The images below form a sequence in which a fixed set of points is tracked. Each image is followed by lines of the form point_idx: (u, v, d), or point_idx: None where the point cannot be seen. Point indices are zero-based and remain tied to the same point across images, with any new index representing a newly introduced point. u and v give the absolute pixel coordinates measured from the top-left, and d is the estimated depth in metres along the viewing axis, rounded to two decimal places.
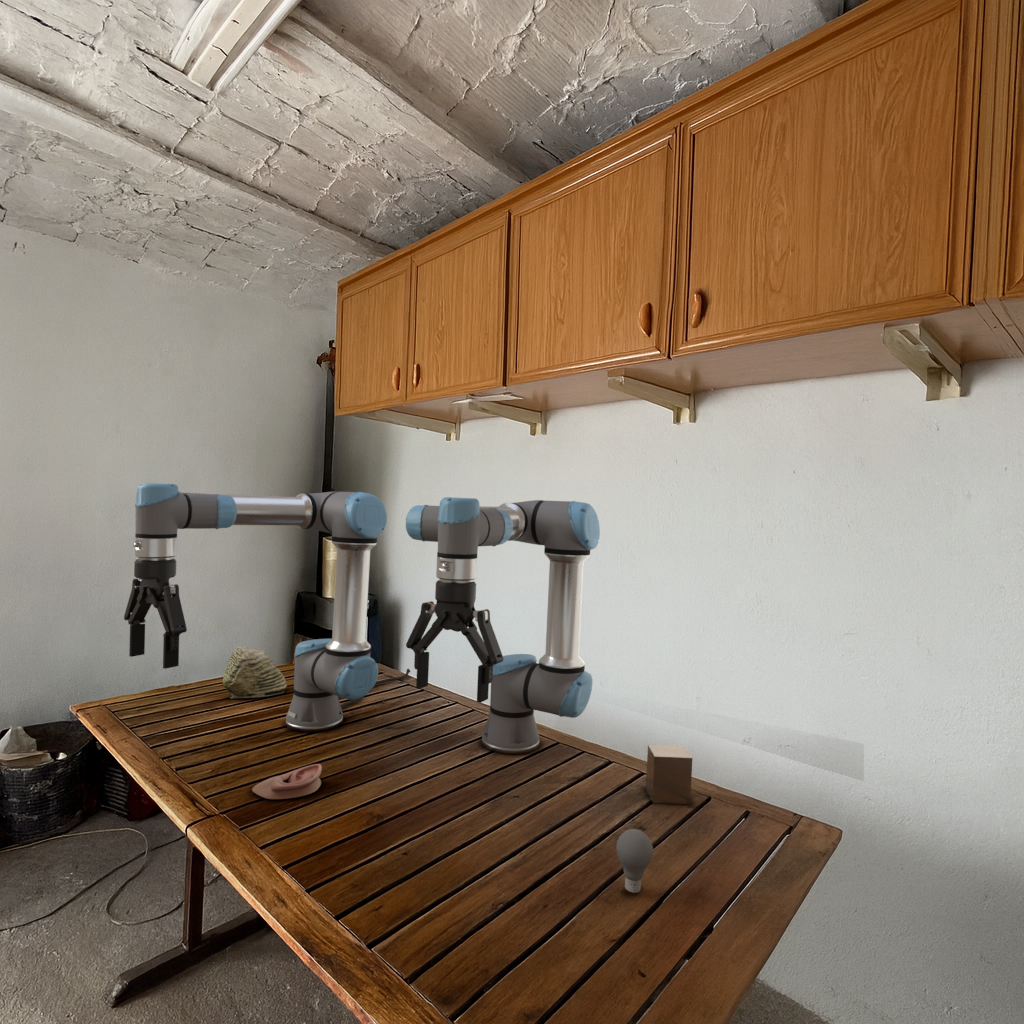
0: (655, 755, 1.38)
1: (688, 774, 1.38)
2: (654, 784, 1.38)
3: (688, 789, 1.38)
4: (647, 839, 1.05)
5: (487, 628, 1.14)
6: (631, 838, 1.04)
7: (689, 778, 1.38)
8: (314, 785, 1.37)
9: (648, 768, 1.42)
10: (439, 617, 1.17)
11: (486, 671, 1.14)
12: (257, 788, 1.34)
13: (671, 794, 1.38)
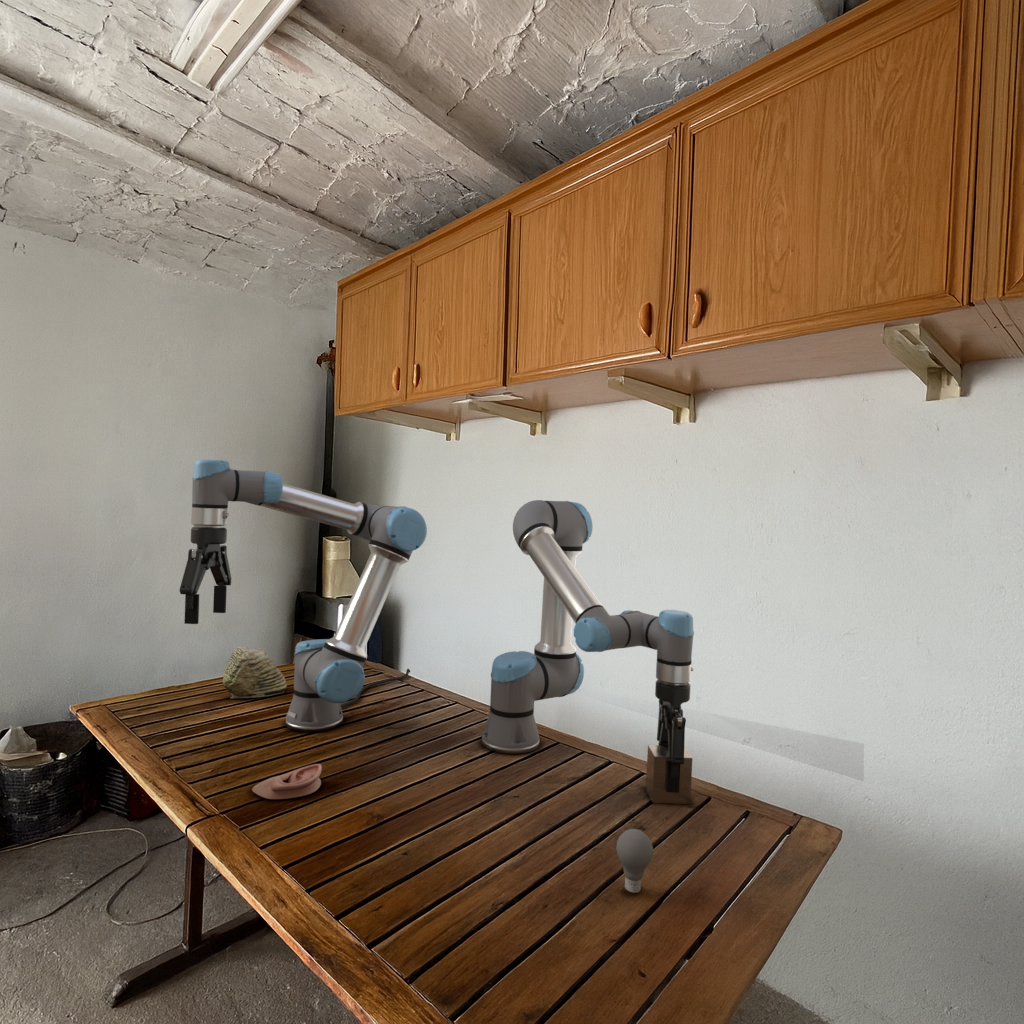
0: (655, 755, 1.38)
1: (688, 774, 1.38)
2: (654, 784, 1.38)
3: (688, 789, 1.38)
4: (647, 839, 1.05)
5: None
6: (631, 838, 1.04)
7: (689, 778, 1.38)
8: (314, 785, 1.37)
9: (648, 768, 1.42)
10: None
11: None
12: (257, 788, 1.34)
13: (671, 794, 1.38)
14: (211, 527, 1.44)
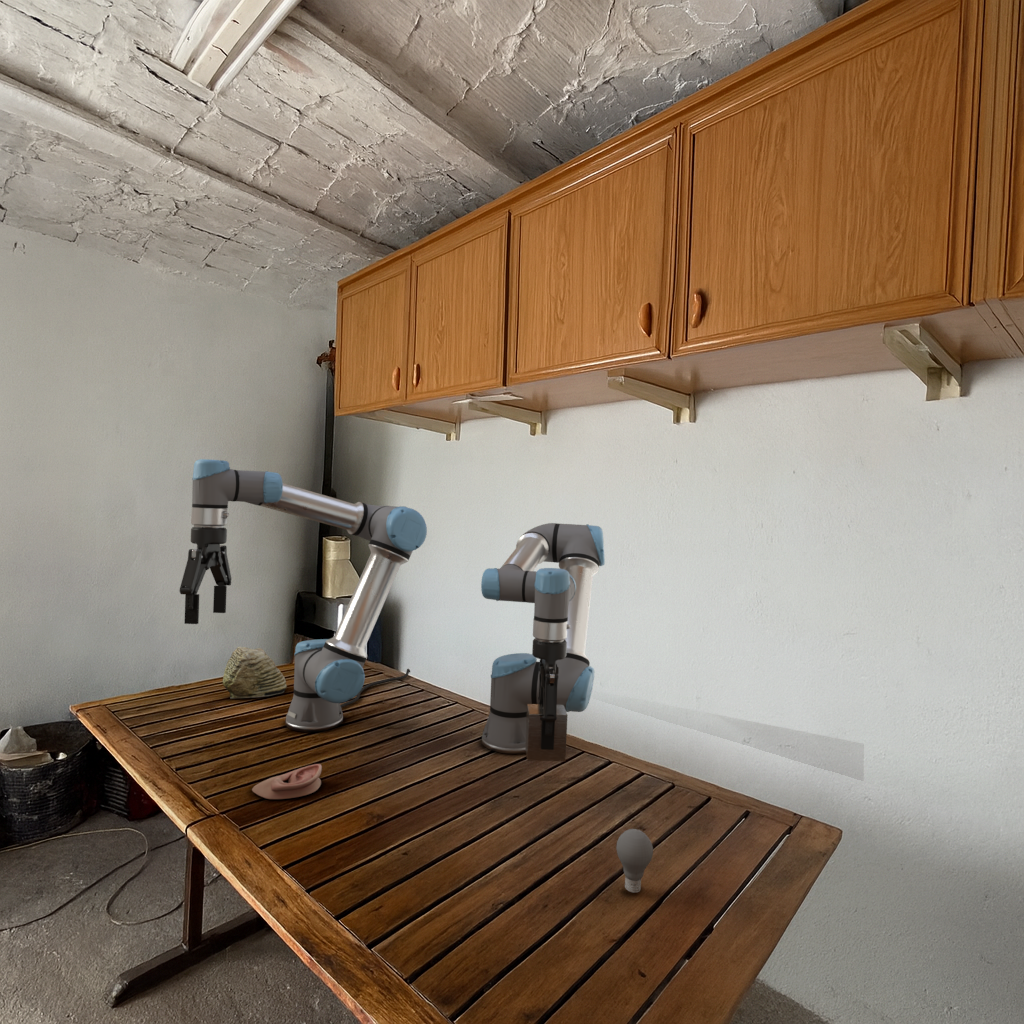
0: (530, 713, 1.37)
1: (563, 731, 1.37)
2: (529, 742, 1.37)
3: (563, 746, 1.37)
4: (647, 839, 1.05)
5: None
6: (631, 838, 1.04)
7: (564, 735, 1.37)
8: (314, 785, 1.37)
9: (526, 727, 1.42)
10: (557, 674, 1.38)
11: None
12: (257, 788, 1.34)
13: (546, 751, 1.37)
14: (211, 527, 1.44)
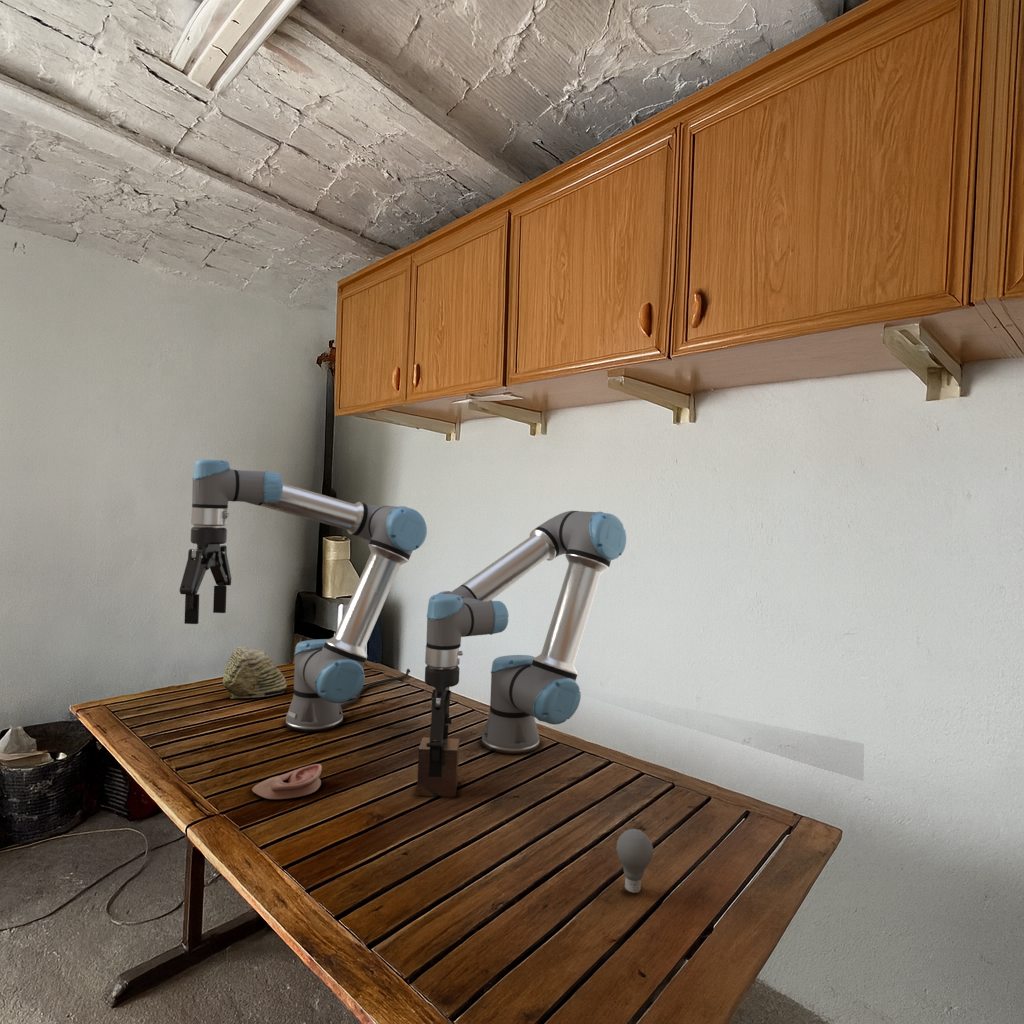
0: (420, 747, 1.37)
1: (453, 766, 1.36)
2: (418, 776, 1.36)
3: (453, 782, 1.36)
4: (647, 839, 1.05)
5: None
6: (631, 838, 1.04)
7: (454, 770, 1.36)
8: (314, 785, 1.37)
9: None
10: (448, 700, 1.37)
11: None
12: (257, 788, 1.34)
13: (435, 786, 1.36)
14: (211, 527, 1.44)
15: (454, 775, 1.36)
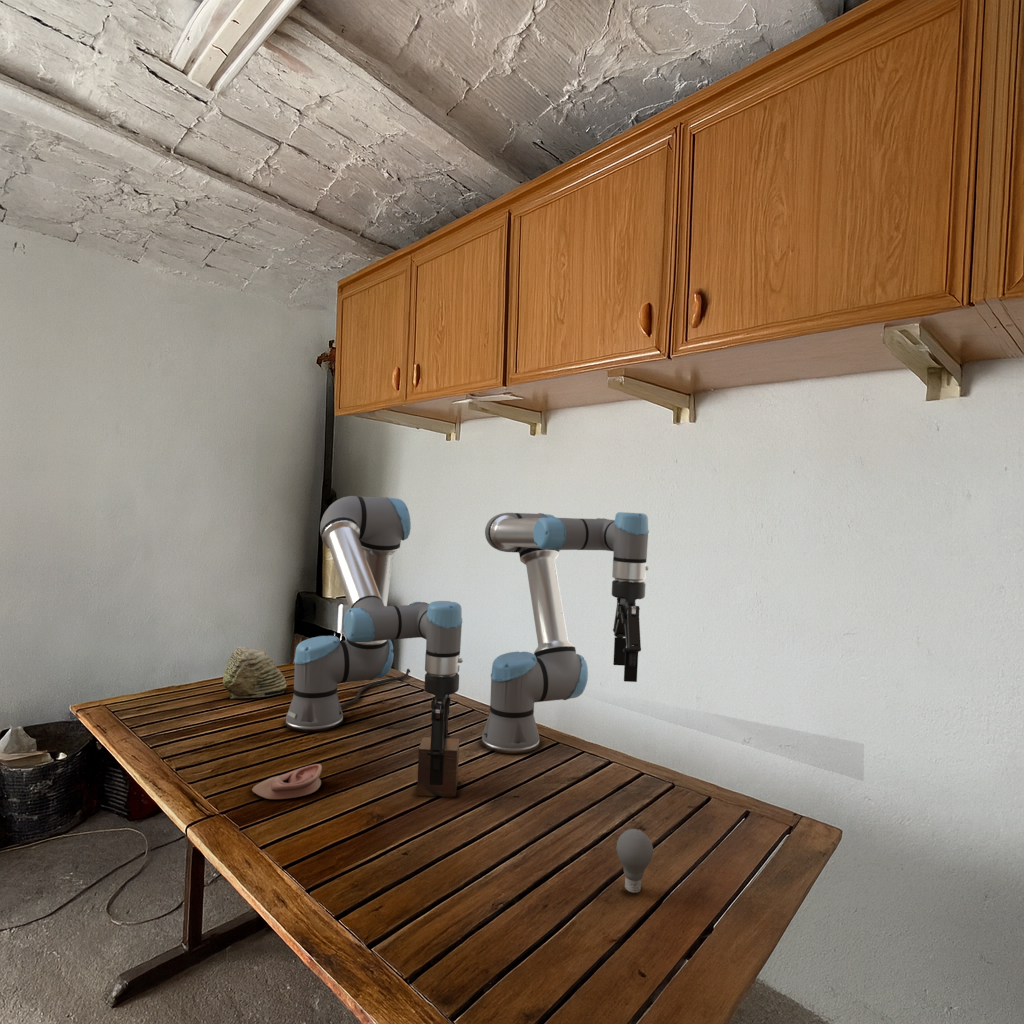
0: (420, 747, 1.37)
1: (453, 766, 1.36)
2: (418, 777, 1.36)
3: (453, 782, 1.36)
4: (647, 839, 1.05)
5: None
6: (631, 838, 1.04)
7: (454, 771, 1.36)
8: (314, 785, 1.37)
9: None
10: None
11: None
12: (257, 788, 1.34)
13: (435, 786, 1.36)
14: (448, 676, 1.36)
15: (454, 775, 1.36)
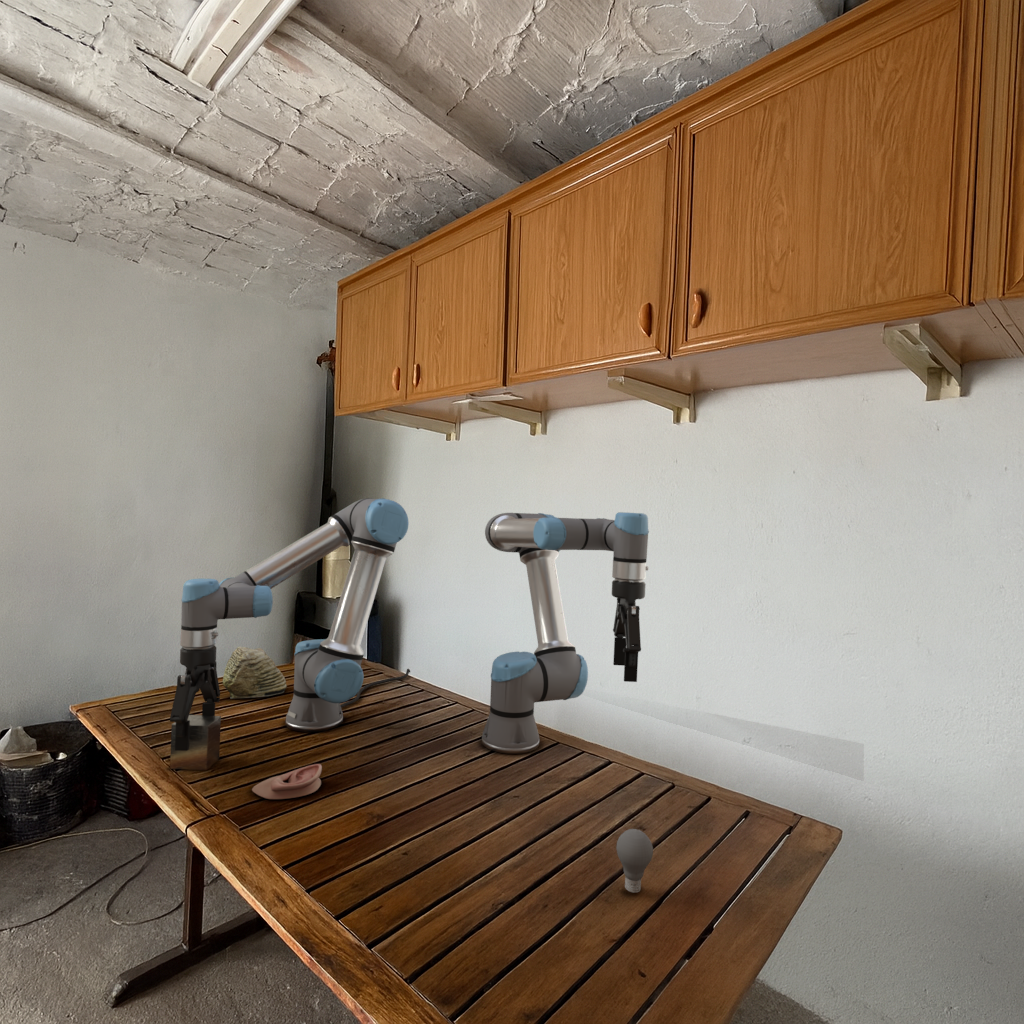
0: (174, 723, 1.44)
1: (204, 741, 1.44)
2: (171, 751, 1.44)
3: (204, 756, 1.44)
4: (647, 839, 1.05)
5: None
6: (631, 838, 1.04)
7: (205, 745, 1.44)
8: (314, 785, 1.37)
9: None
10: None
11: None
12: (257, 788, 1.34)
13: (187, 760, 1.44)
14: (200, 649, 1.44)
15: (205, 749, 1.44)
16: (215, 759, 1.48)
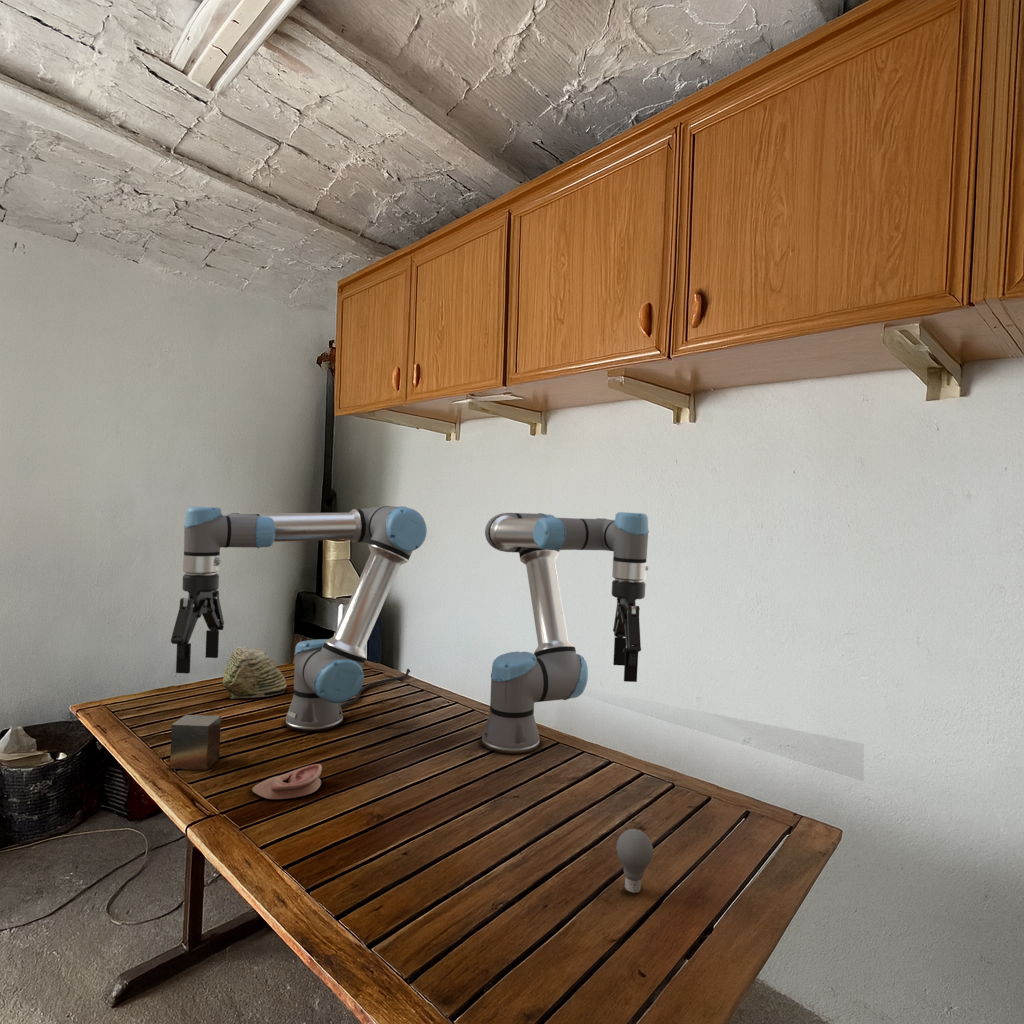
0: (174, 723, 1.44)
1: (204, 741, 1.44)
2: (171, 751, 1.44)
3: (204, 756, 1.44)
4: (647, 839, 1.05)
5: None
6: (631, 838, 1.04)
7: (205, 745, 1.44)
8: (314, 785, 1.37)
9: None
10: None
11: None
12: (257, 788, 1.34)
13: (187, 760, 1.44)
14: (203, 575, 1.44)
15: (205, 749, 1.44)
16: (215, 759, 1.48)
